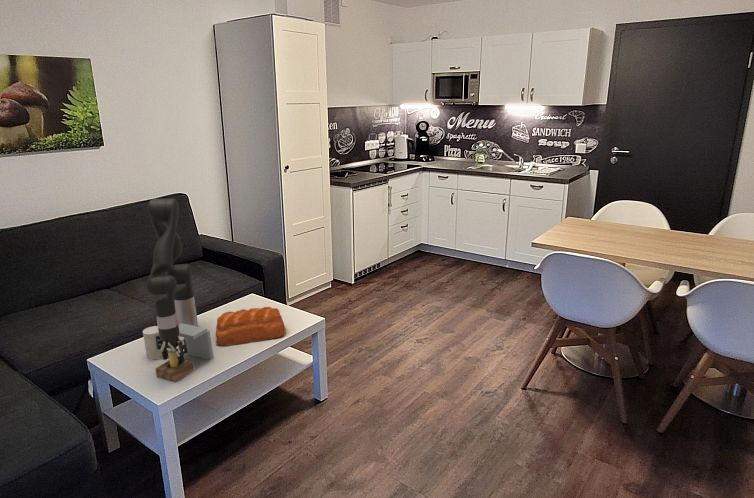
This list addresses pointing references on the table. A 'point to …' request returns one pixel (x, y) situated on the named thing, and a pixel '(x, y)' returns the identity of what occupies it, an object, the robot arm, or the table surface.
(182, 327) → the grey arch-shaped block
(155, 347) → the cup
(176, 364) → the peg
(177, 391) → the table surface
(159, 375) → the socket block
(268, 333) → the bread
